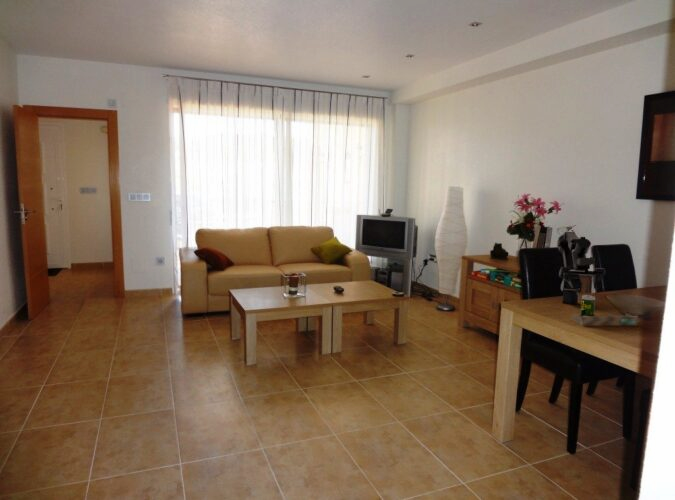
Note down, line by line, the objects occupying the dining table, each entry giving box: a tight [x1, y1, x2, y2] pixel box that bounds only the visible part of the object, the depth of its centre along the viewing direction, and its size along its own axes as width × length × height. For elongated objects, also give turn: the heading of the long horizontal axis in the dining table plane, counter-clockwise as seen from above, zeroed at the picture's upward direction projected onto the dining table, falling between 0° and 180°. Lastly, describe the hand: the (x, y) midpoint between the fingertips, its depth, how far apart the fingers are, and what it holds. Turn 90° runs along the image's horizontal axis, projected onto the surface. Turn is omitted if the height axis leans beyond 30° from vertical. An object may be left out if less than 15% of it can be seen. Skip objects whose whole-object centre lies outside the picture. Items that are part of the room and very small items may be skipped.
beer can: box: [579, 294, 596, 317], centre depth 204 cm, size 5×5×12 cm
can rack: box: [571, 313, 639, 327], centre depth 204 cm, size 24×9×4 cm, turn 89°
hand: (584, 288), depth 210 cm, fingers open, 9 cm apart
